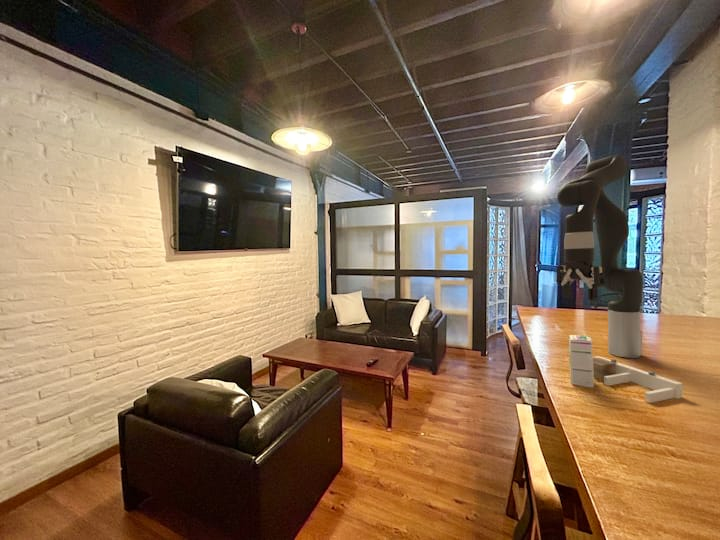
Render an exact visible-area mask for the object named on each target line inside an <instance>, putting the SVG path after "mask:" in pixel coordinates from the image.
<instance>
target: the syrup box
mask: <svg viewBox="0 0 720 540" xmlns="http://www.w3.org/2000/svg"><path fill="white" fill-rule="evenodd" d="M568 345H569V346H568V348H569V349H568V350H569V352H568V353H569V374H570V376H569V378H570V383H571V385H574V386H578V387H580V386H581V387H586V388H593V389H594V388H595V378H594V369H593V358H594V351H593V350H594V349H593V340H592V338H591V337H590V336H588V335H578V334H572V335H571V334H569V336H568Z"/></svg>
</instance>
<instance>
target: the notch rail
mask: <svg viewBox="0 0 720 540" xmlns="http://www.w3.org/2000/svg"><path fill="white" fill-rule="evenodd" d="M598 357H599V358H602V359H605V360H608V361H611V362H614V363H616V374H615V375H609V376H604V381H603V385H605V386H613V385H614V386H615V385H618V384H623V383H625V384H626V383H634V384H635V385H639V386H642V387H644V388H647V389H650V391H644V402H646V403H648V404H649V403H650V404H651V403H655V402H660V401H666V400H669V399H682V398H683V383H682V382H679V381H676V380H674V379H670V378H667V377H664V376H661V375H657V374H656V372H655V371H651V370H648V371H646V370H644V369H639V368H636V367H634V366H630V365H628V364H624V363H621V362H618V361H617V359H615V358H611V359H608V358H606V357H603V356H600V355H599V356H598V355H597V356H593V358H598Z"/></svg>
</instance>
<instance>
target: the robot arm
mask: <svg viewBox="0 0 720 540" xmlns="http://www.w3.org/2000/svg"><path fill="white" fill-rule="evenodd" d="M626 174H627V161H626V159H625V157H624V156H622V155H620V154H614V155H610V156H606V157H603V158H599V159H596V160H593V161H590V162H588V163H587V164H586V166H585V174H584V175H583V176H581V177H580V178H579V179H576V180H573V181H570V182H568V183H566V184H564V185H562V186H561V187H560V189H559V190H558V192H557V202H558V203H559V205H561V207H562V206H563V207H564V208H565V207H566V208H571V207H578V206H582V208H581V209H580V210H579V211H577V212H574V213H571V214H567V215H566V216H565V218H564V240H563V245H564V246H563V251H564V252H563V253H564V254H563V255H564V256H563V258H564V260H563V261H564V263H565V264H566V265H565V264H564V265H557V267H556V283H557V284H559V285H561V286H562V297H563V298H566V299H567V298H572V297H571V296H572V286H571V284H572V283H573V282H574V281H575V280H578V281H582V283H585V285H586V286H587V287H588V289H587V296H588V297H587V300H588V302H596V301H597V299H598V298H599V296H598V295H599V294H598V292H599V291H598V290H599V289H600V288H602V287H603V288H604V289H605V290H606V291H608V292H611V293H612V292H613V293H622V297H621V298H620V299H618V300H612V301H609V302H608V303H607V322H608V323H607V328H608V331H607V332H608V333H607V334H608V335H607V336H608V353H609V354H610V355H613V356H616V357H621V358H627V359H628V358H629V359H639V358H641V356H643V331H642V329H641V306H642V301H643V286H644V281H643V279H644V278H643V275H642V272H641V270H639V269H636V268H619V267H618V255H619V252H620V251H621V249H622V248H623V245H624V244H625V243H626V242H627V239H628V238H629V237H628V236H629V234H630V229H629V223H628V217H627V216H628V215H626V213H625V212H624V211H623V210H622V209H621V207H619V206H618V205H617V204H615V203H613V201H612V200H611V199H610V198H609V197H608V196H607V195H606V193H605V192H604V190H603V189H604V188H605V187H607V186H609V185H610V184H612V183H614V182H618V181H620V180H622V179H623V178H624V177H625V176H626ZM594 224H595V231H596V237H597V242H598V248H599V257H600V266H594V265H593V263H594V261H595V236H594Z"/></svg>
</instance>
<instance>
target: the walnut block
mask: <svg viewBox="0 0 720 540" xmlns="http://www.w3.org/2000/svg"><path fill="white" fill-rule="evenodd" d="M593 369H594V379H595V380H599V381H601V382H604V376H609V375H615V374H616V363H614V362H611V361H608V360H605V359H602V358H599V357H598V358H594V357H593Z"/></svg>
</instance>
